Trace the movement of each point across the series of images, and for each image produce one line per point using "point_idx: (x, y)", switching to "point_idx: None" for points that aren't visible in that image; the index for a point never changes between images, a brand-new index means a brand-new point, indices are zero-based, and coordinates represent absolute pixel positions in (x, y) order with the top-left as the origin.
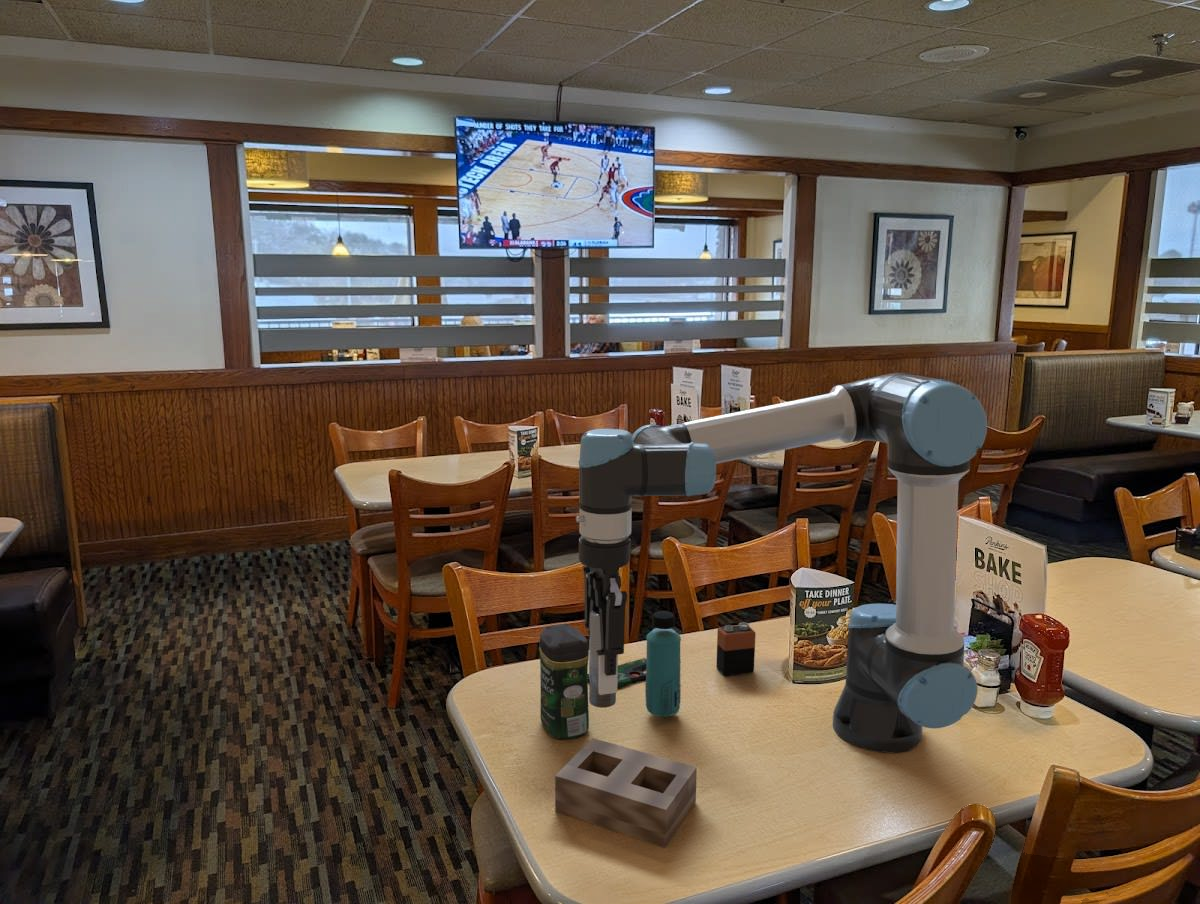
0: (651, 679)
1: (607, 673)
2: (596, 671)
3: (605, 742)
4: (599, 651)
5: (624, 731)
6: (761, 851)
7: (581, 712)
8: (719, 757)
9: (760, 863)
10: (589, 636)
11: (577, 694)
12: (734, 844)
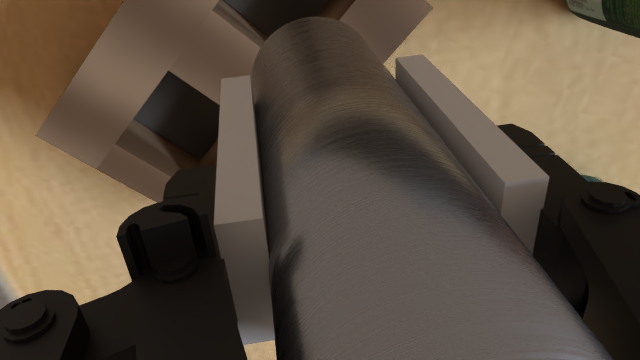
0: None
1: (170, 185)
2: (280, 116)
3: (396, 43)
4: (151, 242)
5: (537, 104)
6: (57, 262)
7: (606, 6)
8: None
9: (20, 252)
10: (579, 186)
11: None
12: (80, 225)
